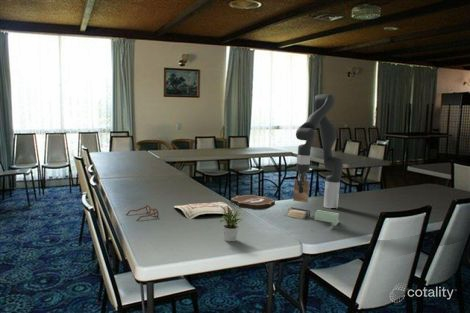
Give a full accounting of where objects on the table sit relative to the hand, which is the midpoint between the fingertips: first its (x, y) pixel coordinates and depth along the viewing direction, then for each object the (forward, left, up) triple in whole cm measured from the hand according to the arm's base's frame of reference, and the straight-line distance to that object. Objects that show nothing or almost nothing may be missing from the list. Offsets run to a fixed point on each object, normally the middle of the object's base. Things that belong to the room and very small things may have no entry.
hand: (301, 192), depth 217 cm
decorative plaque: (-13, -35, -15) cm, 40 cm away
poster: (+24, -50, -15) cm, 58 cm away
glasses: (+54, -71, -15) cm, 90 cm away
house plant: (+60, -16, -15) cm, 64 cm away
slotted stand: (+1, +16, -14) cm, 22 cm away
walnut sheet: (0, 0, -5) cm, 5 cm away
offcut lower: (+5, 0, -13) cm, 14 cm away
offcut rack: (+3, 0, -14) cm, 15 cm away
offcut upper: (+6, 0, -11) cm, 13 cm away
